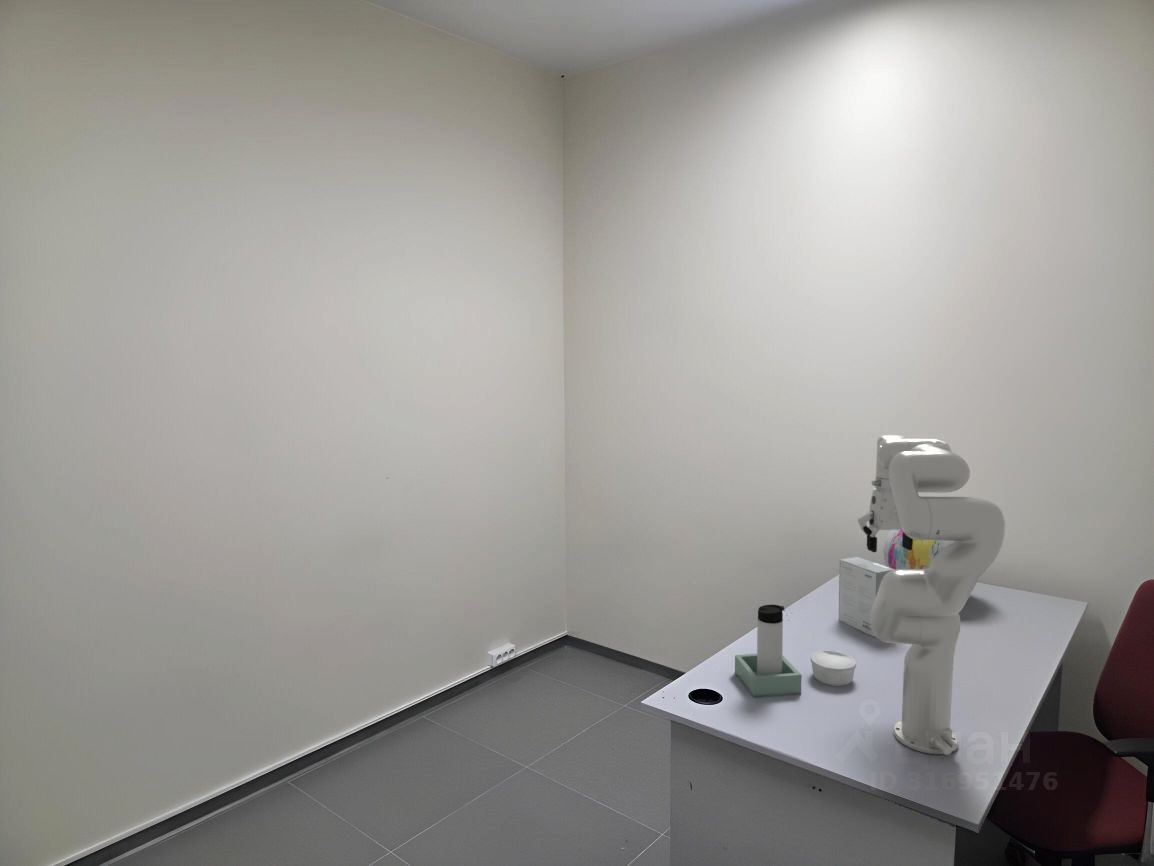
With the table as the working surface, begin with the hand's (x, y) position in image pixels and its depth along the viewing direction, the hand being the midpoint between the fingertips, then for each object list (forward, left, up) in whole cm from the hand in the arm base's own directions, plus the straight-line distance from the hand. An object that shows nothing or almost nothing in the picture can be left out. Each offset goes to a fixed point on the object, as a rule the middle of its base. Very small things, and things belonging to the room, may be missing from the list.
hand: (889, 549), depth 177 cm
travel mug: (+2, +31, -34) cm, 46 cm away
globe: (+52, -47, -35) cm, 78 cm away
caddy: (+2, +32, -34) cm, 47 cm away
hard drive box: (+32, -12, -35) cm, 49 cm away
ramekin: (+2, +14, -35) cm, 37 cm away
